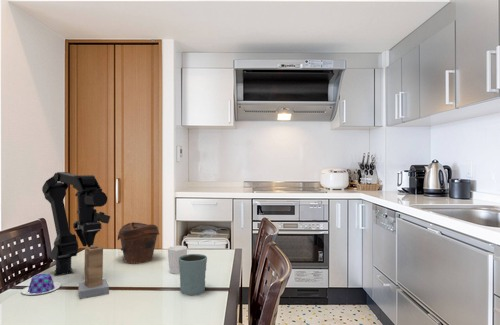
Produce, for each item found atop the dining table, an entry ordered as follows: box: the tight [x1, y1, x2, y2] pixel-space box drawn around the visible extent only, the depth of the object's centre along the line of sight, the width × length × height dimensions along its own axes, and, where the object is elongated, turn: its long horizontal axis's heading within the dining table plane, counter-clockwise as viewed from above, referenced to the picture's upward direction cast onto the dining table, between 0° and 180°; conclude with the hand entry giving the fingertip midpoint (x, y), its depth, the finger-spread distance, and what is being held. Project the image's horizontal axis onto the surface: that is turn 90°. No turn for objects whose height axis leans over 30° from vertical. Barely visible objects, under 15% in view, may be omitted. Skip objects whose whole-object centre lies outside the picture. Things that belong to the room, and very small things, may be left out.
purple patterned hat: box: [21, 272, 62, 296], centre depth 118 cm, size 12×12×5 cm
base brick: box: [78, 278, 110, 299], centre depth 116 cm, size 9×9×2 cm
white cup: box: [167, 245, 188, 275], centre depth 139 cm, size 8×8×10 cm
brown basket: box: [116, 221, 161, 264], centre depth 156 cm, size 18×20×18 cm
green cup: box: [179, 253, 208, 296], centre depth 117 cm, size 10×10×12 cm
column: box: [83, 244, 104, 288], centre depth 116 cm, size 4×4×14 cm
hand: (87, 247), depth 127 cm, fingers open, 9 cm apart
